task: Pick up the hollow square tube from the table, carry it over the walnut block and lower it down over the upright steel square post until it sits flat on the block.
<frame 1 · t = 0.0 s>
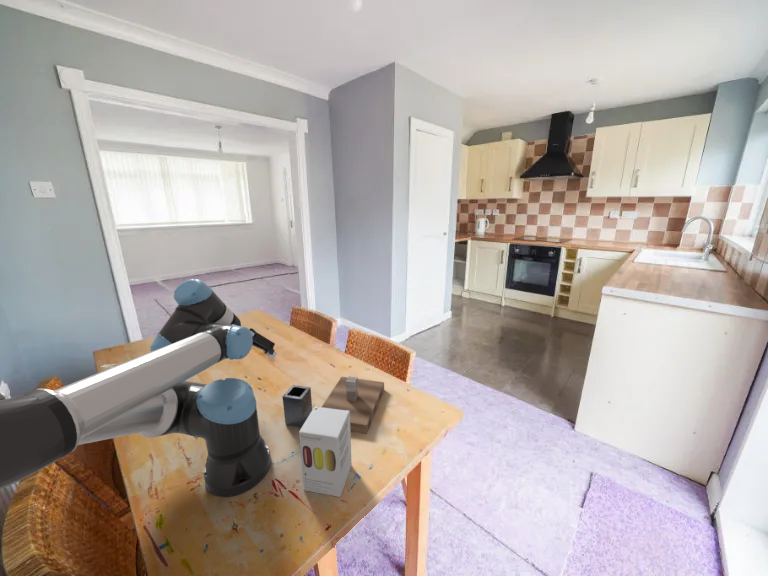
hand: (256, 354, 103), 15 cm above the table, tool tilted 35°, fingers open, 13 cm apart
tang block: (352, 405, 101), on the table
supplement box: (328, 478, 75), on the table
hollow square tube: (299, 419, 95), on the table
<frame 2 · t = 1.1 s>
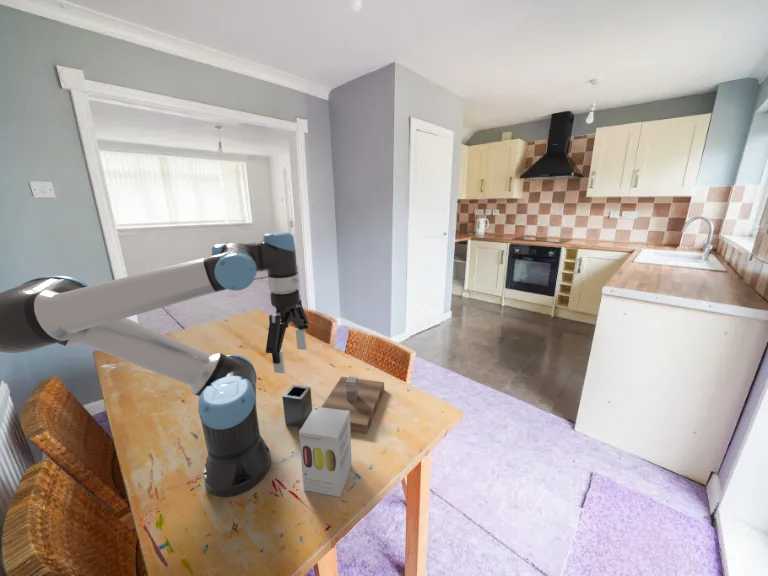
hand: (291, 359, 90), 21 cm above the table, tool pointing down, fingers open, 13 cm apart
nothing on the table moved.
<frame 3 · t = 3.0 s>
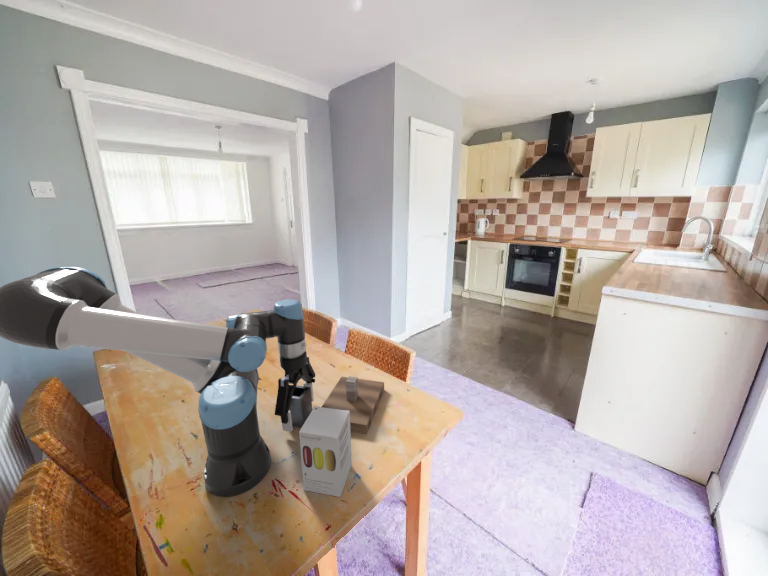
hand: (299, 414, 95), 2 cm above the table, tool pointing down, fingers open, 13 cm apart
nothing on the table moved.
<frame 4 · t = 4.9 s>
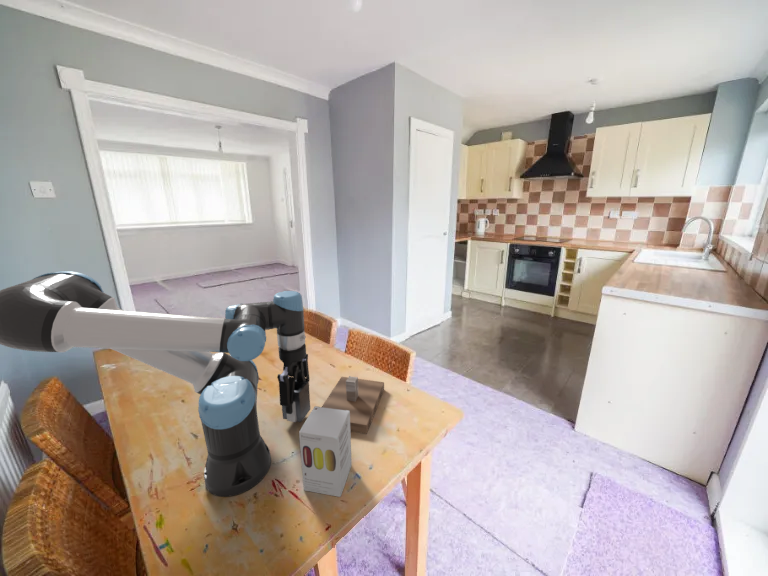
hand: (297, 413, 94), 2 cm above the table, tool pointing down, fingers closed on hollow square tube, 6 cm apart
hollow square tube: (297, 413, 94), point 2 cm above the table, touching gripper
everything else where it was.
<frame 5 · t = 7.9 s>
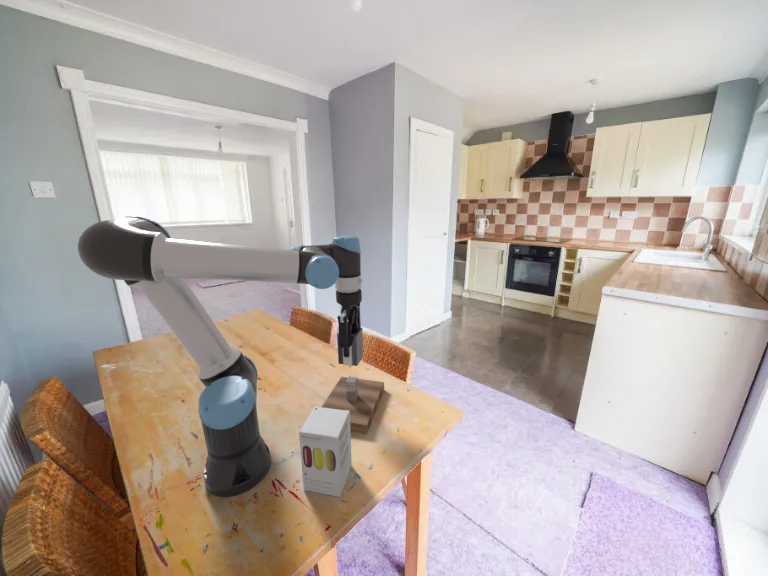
hand: (351, 359, 96), 17 cm above the table, tool pointing down, fingers closed on hollow square tube, 6 cm apart
hollow square tube: (351, 360, 97), point 17 cm above the table, touching gripper
everything else where it was.
when the fingers open (4 cm above the table, at t = 11.3 s): hollow square tube drops 1 cm, resting on tang block.
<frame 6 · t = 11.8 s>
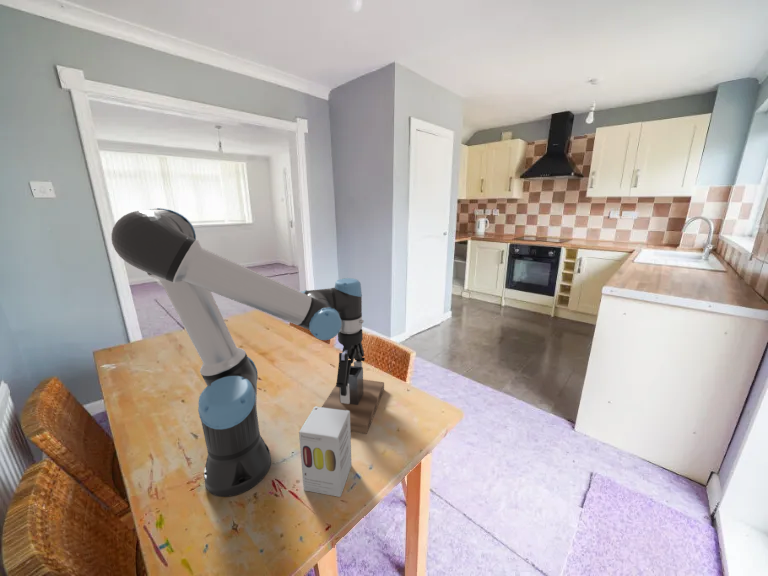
hand: (352, 390, 100), 6 cm above the table, tool pointing down, fingers open, 12 cm apart
hollow square tube: (352, 397, 100), point 3 cm above the table, touching tang block
everything else where it was.
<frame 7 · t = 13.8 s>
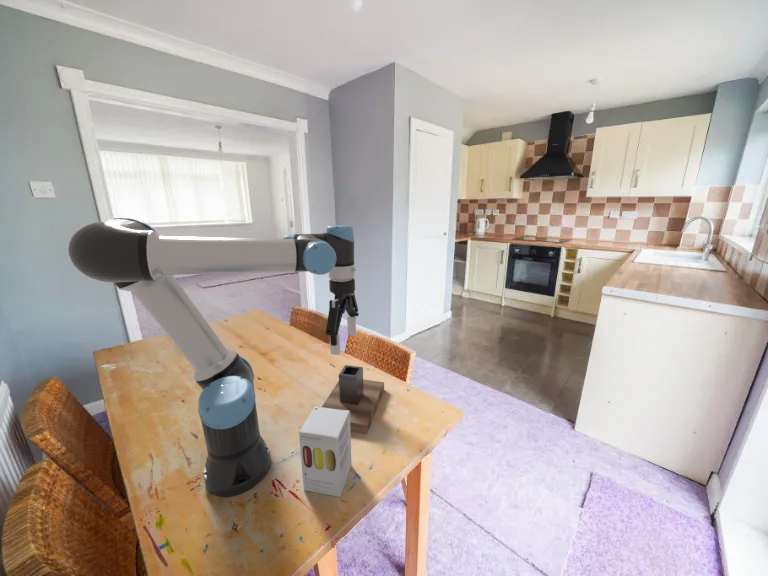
hand: (344, 344, 96), 22 cm above the table, tool pointing down, fingers open, 13 cm apart
nothing on the table moved.
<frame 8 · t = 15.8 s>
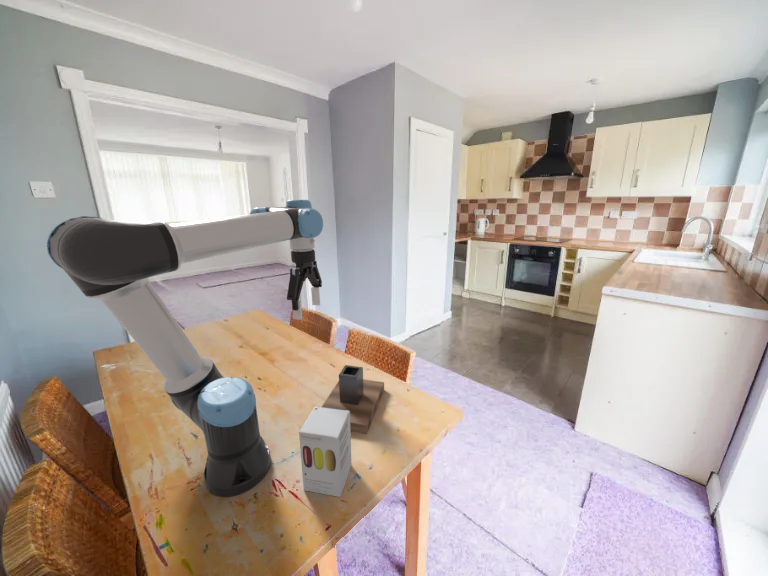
hand: (307, 311, 105), 29 cm above the table, tool pointing down, fingers open, 13 cm apart
nothing on the table moved.
at the end: hollow square tube 0.2 cm off-centre on the tang block, point 3.0 cm above the tang block's base; hollow square tube tilted 0°; the gripper is holding nothing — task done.
